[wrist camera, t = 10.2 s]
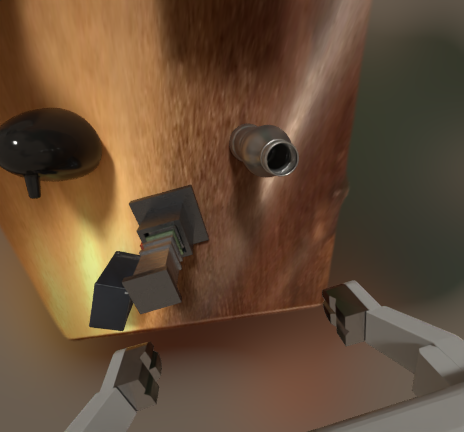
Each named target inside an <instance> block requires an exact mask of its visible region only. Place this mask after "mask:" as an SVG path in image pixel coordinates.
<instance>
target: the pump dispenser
mask: <svg viewBox="0 0 464 432" xmlns="http://www.w3.org/2000/svg"><path fill="white" fill-rule="evenodd" d="M101 156H102V147H101V142H100V139H99V137H98V135H97V133H96V131H95V130H94V129H93V127H92V126H91V125H90V124H89V123H88V122H87V121H86V120H85V119H84V118H82V117H81V116H79V115H77V114H76V113H74V112H71V111H69V110H65V109H60V108H41V109H35V110H30V111H27V112H24V113H21V114H18V115H16V116H14V117H12V118H11V119H9V120H8V121H6V122H5V123H3V124H2V125H1V126H0V166H1V167H2V168H3V169H5V170H6V171H8V172H10V173H12V174H14V175H17V176H20V177H23V178H25V182H26V186H27V190H28V194H29V197H30V198H32V199H37V198H40V197H41V186H40V181H52V182H55V181H67V180H72V179H77V178H80V177H83V176H86V175H88V174H89V173H91V172H92V171H94V170H95V169H96V167H97V166H98V164H99V162H100V160H101Z"/></svg>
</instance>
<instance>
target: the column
mask: <svg viewBox="0 0 464 432" xmlns="http://www.w3.org/2000/svg"><path fill="white" fill-rule="evenodd" d="M145 239H146V241H147V242H145V243H143V247H144V250H140V252H139V254H140V256H141V258H140V260H139V263H138V265H137V267H136V270H135V272H134V274H133V275H132V276H129V277H125V278H124V279H123V281H122V284H123V286H124V287H125V289H126V291H127V292H128V294H129V296H130V298H131V299H132V301H133V303H134V304H135V306H136V308H137V309H138V311H139V313H140V314H143V313H147V312H150V311H153V310H157V309H160V308H164V307H167V306H171V305H174V304H177V303H181V302H182V297H181V294H180V292H179V290H178V288H177V281H178V274H179V270H181V269H182V265H181V263H180V262H181V261H183V258H182V254H184V252H183V249H182V248H184V244H183V241H182V238H181V236H180V233H179V231H178V228H177V226H176V225H174V226H170V227H167V228H163V229H159V230H156V231H152V232H149V236H147V237H146V238H145Z"/></svg>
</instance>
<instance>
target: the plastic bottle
mask: <svg viewBox="0 0 464 432" xmlns="http://www.w3.org/2000/svg"><path fill="white" fill-rule="evenodd" d="M229 145H230V150H231V152H232V154H233V155H234V157H235V158H237V159H238V160H240V161H242V162H244V164H245V166H246V167H247V169H248V170H249V171H250V172H251V173H253V174H255V175H256V176H259V177H265V178H266V177H273V176H286V175H288V174H290V173H292V172H293V171H294V170H295V168H296V167H297V164H298V161H299V155H298V151H297V149H296V148H295V146H294V145H293V144H292V143H291V141H290V139H289V137H288V136H287V134H286V133H285V132H284V131H283V130H282V129H280V128H279V127H276V126H273V125H263V126H259V127H258V126H256V125H253V124H242V125H240V126H238V127H237V128H236V129H235V130H234V131H233V132H232V134H231V136H230V141H229Z"/></svg>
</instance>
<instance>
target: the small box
mask: <svg viewBox="0 0 464 432" xmlns="http://www.w3.org/2000/svg"><path fill="white" fill-rule="evenodd" d="M140 258H141V256H140V255H135V254H130V253H126V252H120V251H116V252H115V254H114V256H113V257H112V259H111V260H110V262H109V263H108V265H107V266H106V268H105V269H104V271H103V272H102V274H101V276H100V277H99V279H98V280H97V282H96V283H95V286H94V294H93V302H92V309H91V317H90V324H89V327H93V328H101V329H110V330H118V331H123V330H124V328H125V324H126V321H127V318H128V316H129V313H130V310H131V308H132V305H133V301H132V299H131V298H130V296H129V294H128V292H127V291H126V289H125V287H124V286H123V284H122V281H123V279H124V278H125V277H129V276H132V275H133V274H134V272H135V270H136V267H137V265H138V263H139V260H140Z"/></svg>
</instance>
